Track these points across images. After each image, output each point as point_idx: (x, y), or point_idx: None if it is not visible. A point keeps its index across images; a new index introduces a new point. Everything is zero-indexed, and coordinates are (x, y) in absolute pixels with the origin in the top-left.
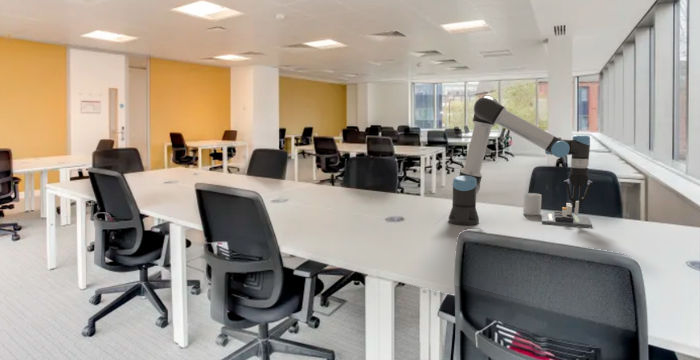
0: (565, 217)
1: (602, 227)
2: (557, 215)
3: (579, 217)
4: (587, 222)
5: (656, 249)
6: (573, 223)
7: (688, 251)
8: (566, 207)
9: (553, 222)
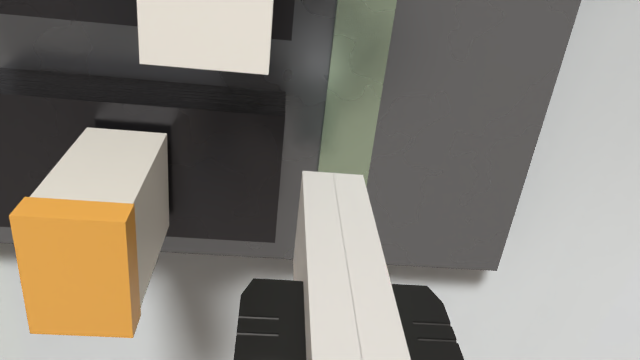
0: None
1: (624, 192)
2: (6, 9)
3: None
4: (481, 160)
5: None
6: (272, 256)
7: None
8: (114, 234)
9: (9, 234)
